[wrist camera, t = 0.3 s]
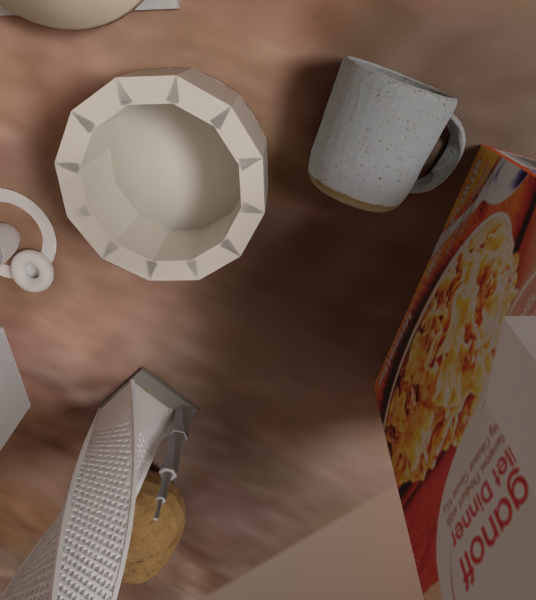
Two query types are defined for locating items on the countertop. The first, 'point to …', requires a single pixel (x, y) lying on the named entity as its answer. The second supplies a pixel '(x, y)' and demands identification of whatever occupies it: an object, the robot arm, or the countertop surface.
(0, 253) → the cup and donut ornament
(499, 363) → the robot arm
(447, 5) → the countertop surface
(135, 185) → the bowl
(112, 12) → the lid
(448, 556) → the pasta box
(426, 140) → the ceramic mug
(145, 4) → the mat
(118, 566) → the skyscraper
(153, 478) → the potato
